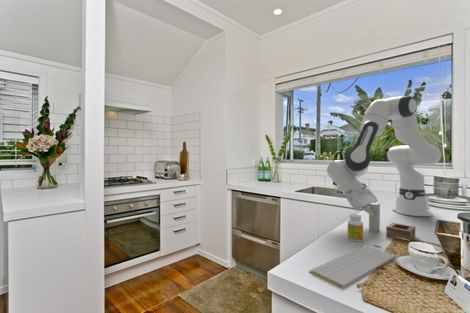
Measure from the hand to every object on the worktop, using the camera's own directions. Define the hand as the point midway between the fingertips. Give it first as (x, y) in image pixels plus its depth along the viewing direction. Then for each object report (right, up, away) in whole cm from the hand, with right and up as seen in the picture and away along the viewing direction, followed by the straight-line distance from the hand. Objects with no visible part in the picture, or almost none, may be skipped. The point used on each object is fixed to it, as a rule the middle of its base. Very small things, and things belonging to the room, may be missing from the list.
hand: (376, 214), depth 106 cm
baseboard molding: (-26, -9, -31) cm, 42 cm away
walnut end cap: (+6, -7, -7) cm, 12 cm away
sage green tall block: (0, -7, +1) cm, 7 cm away
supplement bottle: (-15, -8, -11) cm, 20 cm away
